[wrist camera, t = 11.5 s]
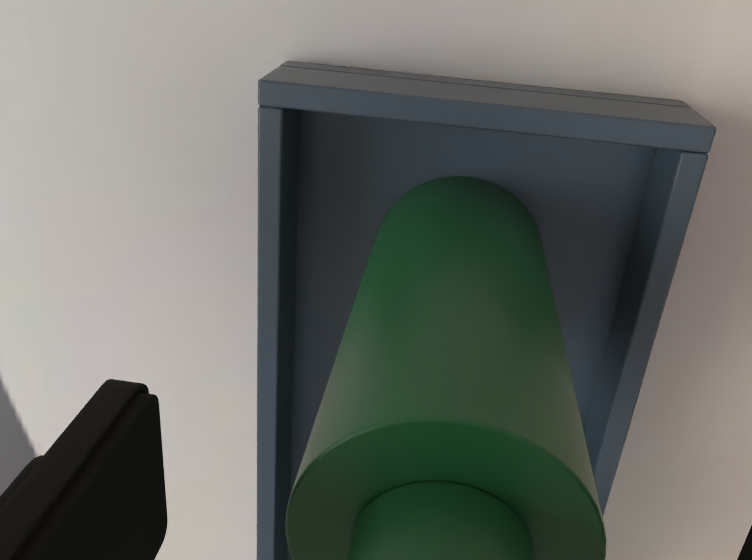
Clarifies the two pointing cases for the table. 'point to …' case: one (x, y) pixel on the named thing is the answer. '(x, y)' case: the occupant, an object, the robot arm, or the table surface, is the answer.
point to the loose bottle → (449, 399)
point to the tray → (471, 159)
